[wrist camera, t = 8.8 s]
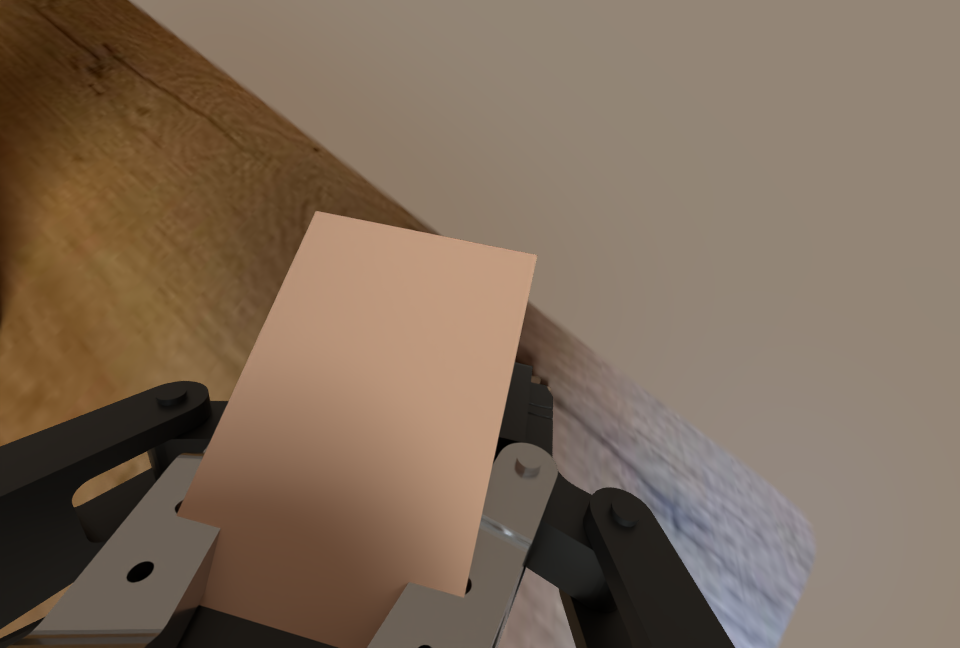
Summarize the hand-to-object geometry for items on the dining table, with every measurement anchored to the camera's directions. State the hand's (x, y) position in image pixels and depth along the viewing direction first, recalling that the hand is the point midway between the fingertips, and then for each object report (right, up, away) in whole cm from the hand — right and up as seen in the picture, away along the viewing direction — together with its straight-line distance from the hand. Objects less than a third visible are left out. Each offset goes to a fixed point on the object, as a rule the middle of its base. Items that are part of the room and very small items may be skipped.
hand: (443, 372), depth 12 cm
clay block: (0, -3, +4) cm, 5 cm away
